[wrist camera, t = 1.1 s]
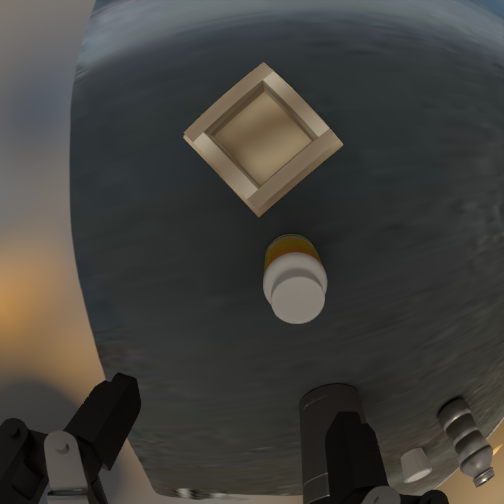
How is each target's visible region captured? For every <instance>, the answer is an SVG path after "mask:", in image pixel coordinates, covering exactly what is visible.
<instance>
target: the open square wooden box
mask: <svg viewBox="0 0 504 504" xmlns="http://www.w3.org/2000/svg"><path fill="white" fill-rule="evenodd" d="M184 134H185V136H184V137H183V138H184V139H185V140H186V141H187V142H188V143H189V144H190V145H191V146H192V147H193V148H194V149H195V150H196V151H197V152H198V153H199V155H200V156H201V157H202V158H203V159H204V160H205V161H206V162H207V163H208V164H209V165H210V166H211V167H212V168H213V169H214V170H215V171H216V172H217V173H218V174H219V175H220V176H221V178H222V179H223V180H224V181H225V182H226V183H227V184H228V185H229V186H230V187H231V188H232V189H233V190H234V191H235V192H236V194H237V195H238V196H239V197H240V198H241V199H242V200H243V201H244V202H245V203H246V204H247V205H248V206H249V208H250V209H251V210H252V211H253V212H254V213H255V214H256V215H257V216H258V217H260V216H261V215H262V214H263V213H264V212H266V211H267V210H268V209H269V208H270V207H271V206H272V205H274V204H275V203H276V202H277V201H278V200H279V199H281V198H282V197H283V196H284V195H285V194H286V193H287V192H289V191H290V190H291V189H292V188H293V187H294V186H296V185H297V184H298V183H299V182H300V181H301V180H303V179H304V178H305V177H306V176H307V175H308V174H310V173H311V172H312V171H313V170H314V169H315V168H317V167H318V166H319V165H320V164H321V163H323V162H324V161H325V160H326V159H327V158H328V157H330V156H331V155H332V154H333V153H334V152H336V151H337V150H338V149H339V148H340V147H342V146H343V143H342V142H341V141H340V140H339V139H338V137H337V136H336V135H335V134H334V133H333V132H332V130H331V129H330V128H329V127H328V126H327V125H326V124H325V122H324V121H323V120H322V119H321V118H320V117H319V116H318V115H317V114H316V113H315V111H314V110H313V109H312V108H311V107H310V106H309V105H308V104H307V103H306V102H305V101H304V100H303V99H302V98H301V97H300V96H299V95H298V94H297V93H296V92H295V91H294V90H293V89H292V88H291V87H290V86H289V85H288V84H287V83H286V82H285V81H284V80H283V79H282V78H281V77H280V76H279V75H278V74H276V73H275V72H274V71H273V70H272V69H271V68H270V67H269V66H268V65H267V64H265V63H264V62H263V63H262V64H261V65H259V66H258V67H257V68H255V69H254V70H253V71H252V72H250V73H249V74H248V75H247V76H246V77H244V78H243V79H242V80H241V81H239V82H238V83H237V84H236V85H235V86H234V87H232V88H231V89H230V90H229V91H228V92H227V93H225V94H224V95H223V96H222V97H221V98H220V99H219V100H218V101H217V102H215V103H214V104H213V105H212V106H211V107H210V108H209V109H208V110H207V111H206V112H205V113H204V114H202V115H201V116H200V117H199V118H198V119H197V120H196V121H195V122H194V123H193V124H192V125H191V126H190V127H189V128H188V129H187V130H186V131H185V132H184Z"/></svg>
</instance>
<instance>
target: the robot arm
mask: <svg viewBox="0 0 504 504" xmlns="http://www.w3.org/2000/svg"><path fill="white" fill-rule="evenodd" d="M140 408H141V399H140V394H139V389H138V383H137V379H136V378H134V377H131V376H128V375H125V374H122V373H117V374H116V375H115V376H114V378H113V379H112V381H111V382H108V381H106V380H105V381H103V382H102V383H100V384H98V385H97V386H95V387H94V389H93V390H92V391H91V393H90V394H89V397H87V399H86V400H85V401H84V404H82V405H81V407H80V408H79V410H78V411H77V412H76V414H75V415H74V416H73V418H72V419H71V421H70V422H69V424H68V425H67V426H66V428H65V429H64V430H63V431H55V432H52V433H50V434H44V433H40V432H36V431H33V430H29V429H28V428H27V426H26V425H25V424H24V422H23V421H21V420H19V419H17V418H10V419H7V420H5V421H4V422H3V423H2V425H1V426H0V504H38V503H39V501H40V498H41V496H42V494H43V492H44V490H45V488H46V486H47V484H48V482H50V487H51V491H50V492H49V493H48V494H47V502H48V504H108V502H107V499H106V496H105V493H104V490H103V487H102V485H101V481H100V478H99V475H98V473H99V471H100V469H101V468H103V469H106V470H108V471H110V470H111V468H112V466H113V464H114V462H115V460H116V458H117V456H118V454H119V452H120V450H121V448H122V446H123V444H124V442H125V440H126V438H127V436H128V434H129V432H130V430H131V428H132V426H133V424H134V422H135V420H136V418H137V417H138V415H139V412H140ZM299 412H300V434H301V455H302V484H303V504H449V502H448V499H447V496H446V495H445V494H444V493H443V492H442V491H439V490H430V491H428V492H426V493H425V494H423V495H422V496H413V495H402V494H399V493H398V492H397V491H396V490H395V489H394V488H392V487H390V486H389V484H388V482H387V478H386V473H385V469H384V465H383V461H382V457H381V453H380V450H379V446H378V445H377V443H378V442H377V439H376V435H375V432H374V431H373V430H372V428H371V427H370V426H369V424H368V423H367V422H366V419H365V415H364V411H363V407H362V404H361V400H360V397H359V394H358V392H357V391H356V390H355V389H354V388H353V387H351V386H348V385H343V384H331V385H326V386H323V387H319V388H317V389H315V390H313V391H311V392H310V393H308V394H307V395H306V396H305V397H304V398H303V399H302V400H301V402H300V405H299Z"/></svg>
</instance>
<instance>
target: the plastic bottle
mask: <svg viewBox="0 0 504 504" xmlns="http://www.w3.org/2000/svg"><path fill="white" fill-rule="evenodd" d="M439 423H440V425H441V427H442V428H443V430H444V431H445V432H446V433H447V435H448V436H449V438H450V440H451V441H452V443H453V445H454V447H455V451H456V453H457V457H458V461H459V466H460V469H461V471H462V472H463V473H464V474H466V475H468V476H471V477H473V478H474V480H473V482H474V483H475V486H476V487H479V486H481V485H482V484H484V483H485V482H487V481H488V480H490V479H491V478H492V477H493V476H494V475H495V474H494V471H493V467H490V464H491V460H492V455H493V450H492V447H491V446H490V445H489V443H488V442H487V441H486V439H485V438H484V437H483V435H482V434H481V432H480V431H479V429H478V427H477V426H476V423H475V421H474V419H473V417H472V414H471V410H470V407H469V405H468V404H467V403H466V402H465V401H464V400H462V399H456V400H454V401H452V402H450V403H449V404H447V405H446V406H445V407H444V408H443V409H442V410H441V412H440V414H439Z"/></svg>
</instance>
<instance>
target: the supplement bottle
mask: <svg viewBox="0 0 504 504" xmlns="http://www.w3.org/2000/svg"><path fill="white" fill-rule="evenodd" d="M263 290H264V294H265V296H266V298H267V300H268V302H269V303H270V304H271V306H272V309H273V311H274V313H275V314H276V315H277V316H278V317H279V318H280V319H281V320H283V321H285V322H288V323H292V324H301V323H306V322H308V321H310V320H312V319H314V318H315V317H316V316H317V315H318V314H319V313H320V312H321V310H322V308H323V306H324V301H325V296H324V295H325V293H326V290H327V277H326V273H325V270H324V268H323V266H322V263H321V261H320V259H319V256H318V254H317V252H316V250H315V248H314V246H313V244H312V243H311V242H310V241H309V240H308V239H306V238H305V237H303V236H301V235H298V234H285V235H282V236H280V237H278V238H276V239H275V240H274V241H273V242H272V243H271V244H270V245H269V247H268V249H267V251H266V256H265V267H264V277H263Z"/></svg>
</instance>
